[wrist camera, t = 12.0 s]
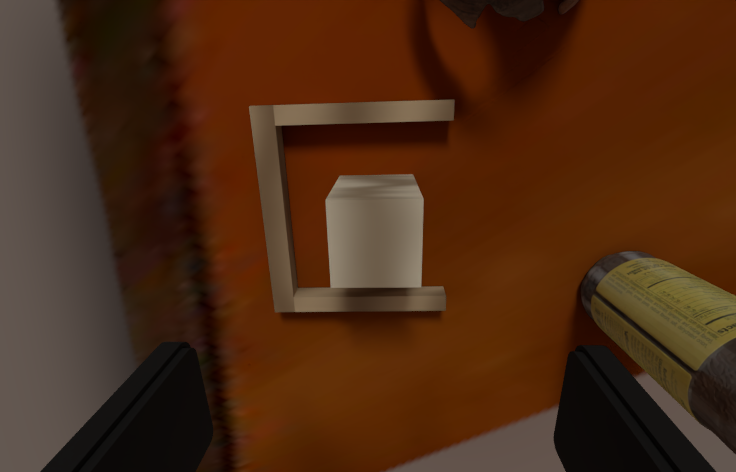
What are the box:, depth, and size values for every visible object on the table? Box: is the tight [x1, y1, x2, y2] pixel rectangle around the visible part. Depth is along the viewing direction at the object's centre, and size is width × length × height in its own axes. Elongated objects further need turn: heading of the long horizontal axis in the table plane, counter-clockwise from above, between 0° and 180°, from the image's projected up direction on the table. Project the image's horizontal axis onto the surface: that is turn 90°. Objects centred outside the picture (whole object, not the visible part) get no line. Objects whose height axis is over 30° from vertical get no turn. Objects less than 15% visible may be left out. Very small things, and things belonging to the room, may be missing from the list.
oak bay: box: [249, 99, 455, 312], centre depth 26 cm, size 12×14×2 cm
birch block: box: [326, 175, 424, 288], centre depth 23 cm, size 5×5×7 cm
